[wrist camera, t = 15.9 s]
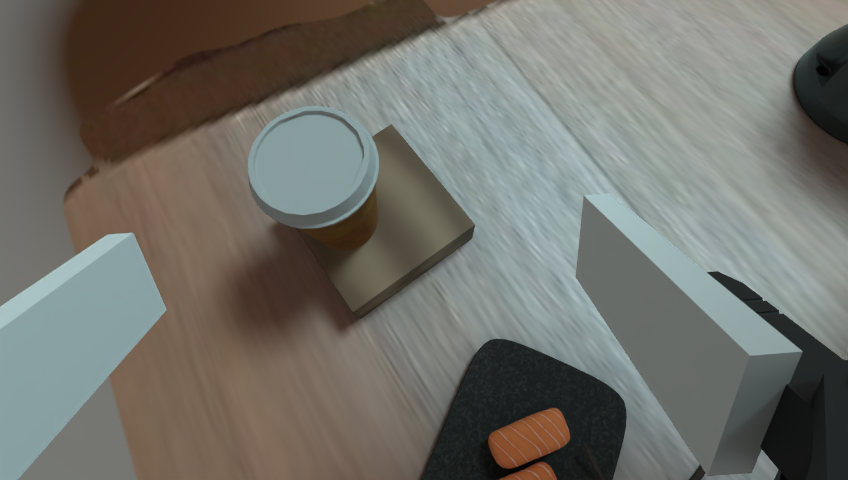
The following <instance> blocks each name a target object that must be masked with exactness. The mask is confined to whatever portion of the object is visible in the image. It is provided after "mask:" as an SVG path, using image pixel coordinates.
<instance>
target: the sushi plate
mask: <svg viewBox="0 0 848 480" xmlns="http://www.w3.org/2000/svg"><path fill="white" fill-rule="evenodd" d="M625 428H626V408H625V404H624V401H623V399H622V398H621V397H620V395H619V394H618V393H617V392H616V391H614V390H613V389H612V388H611V387H609V386H608V385H607V384H605V383H603V382H602V381H600V380H598V379H596V378H595V377H593V376H591V375H589V374H587V373H585V372H583V371H580V370H578V369H576V368H574V367H572V366H570V365H568V364H565V363H563V362H561V361H559V360H557V359H555V358H552V357H550V356H548V355H546V354H543V353H541V352H539V351H536V350H534V349H532V348H529V347H527V346H524V345H522V344H519V343H516V342H513V341H509V340H504V339H493V340H490V341H488V342H487V343H485V344H484V345H483V346H482V347H481V348H480V349H479V351H478V352H477V354H476V355H475V357H474V359H473V360H472V362H471V364H470V366H469V368H468V370H467V373H466V375H465V377H464V379H463V382H462V384H461V386H460V389H459V391H458V393H457V396H456V398H455V400H454V403H453V405H452V408H451V410H450V413H449V415H448V417H447V420H446V422H445V425H444V427H443V429H442V432H441V434H440V437H439V439H438V442H437V444H436V446H435V449H434V451H433V454H432V456H431V459H430V461H429V463H428V466H427V468H426V471H425V473H424V475H423V478H422V480H612V479H613V476H614V472H615V469H616V465H617V461H618V458H619V454H620V451H621V447H622V442H623V438H624V433H625ZM704 474H705V471H704V470H703V468H702V467H701V465H700V466H699V467H698V469H697V470H696V471H695V473H694V474H693V475H692V477H691V478H690V479H689V480H701V479H702V477H703V476H704Z"/></svg>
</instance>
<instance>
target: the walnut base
mask: <svg viewBox="0 0 848 480" xmlns="http://www.w3.org/2000/svg"><path fill="white" fill-rule="evenodd" d="M372 139H373V141H374V142H375V144H376V148H377V151H378V156H379V173H378V177H377V181H376V197H377V212H378V222H377V227H376V230H375V232H374V233H373V235H372V237H371V238H370V239H369V240H368V241H367V242H366V243H365V244H363V245H362V246H360V247H357V248H355V249H352V250H346V251H340V250H335V249H331V248H329V247H327V246H326V245H324V244H323V243H321V242H319V241H318V240H316V239H315V238H313V237H311V236H310V235H308V234H306V233H305V232H303V231H301V230H300V229H298V228H296V229H297V230H298V232H299V233H300V235H301V236H302V238H303V239H304V241H305V242H306V244H307V245H308V247H309V248H310V250H311V251H312V253H313V254H314V256H315V257H316V259H317V260H318V262H319V263H320V265H321V266H322V267H323V269H324V270H325V272H326V273H327V275H328V276H329V278H330V279H331V281H332V282H333V284H334V285H335V287H336V288H337V290H338V291H339V293H340V294H341V296H342V297H343V299H344V300H345V302H346V303H347V305H348V306H349V308H350V309H351V311H352V312H353V313H354V314H356V315H357V316H358V317H360V318H362V317H363V316H365V315H366V314H368V313H369V312H370V311H372V310H373V309H375V308H376V307H377V306H379V305H380V304H381V303H383V302H384V301H386V300H387V299H388V298H390V297H391V296H393V295H394V294H395V293H397V292H398V291H399V290H401V289H402V288H404V287H405V286H406V285H408V284H409V283H411V282H412V281H413V280H415V279H416V278H417V277H419V276H420V275H422V274H423V273H424V272H426V271H427V270H429V269H430V268H431V267H433V266H434V265H435V264H437V263H438V262H440V261H441V260H442V259H444V258H445V257H447V256H448V255H449V254H451V253H452V252H453V251H455V250H456V249H458V248H459V247H460V246H462V245H463V244H464V243H466V242H467V241H469V240H470V239H471V238H472V236H473V232H474V227H475V224H474V223H473V222H472V220H471V219H470V218H469V217H468V216H467V214H466V213H465V212H464V211H463V210H462V208H461V207H460V206H459V205H458V204H457V202H456V201H455V200H454V199H453V197H452V196H451V195H450V194H449V193H448V191H447V190H446V189H445V188H444V187H443V185H442V184H441V183H440V182H439V181H438V179H437V178H436V177H435V176H434V175H433V173H432V172H431V171H430V170H429V169H428V167H427V166H426V165H425V164H424V163H423V161H422V160H421V159H420V158H419V157H418V155H417V154H416V153H415V152H414V151H413V149H412V148H411V147H410V146H409V145H408V143H407V142H406V141H405V140H404V139H403V137H402V136H401V135H400V134H399V133H398V131H397V130H396V129H395V128H394V127H393V125H392V124H391V125H390V126H388V127H386V128H385V129H383V130H382V131H380V132H379V133H377V134H376V135H374V136H373V137H372Z"/></svg>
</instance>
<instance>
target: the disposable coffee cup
mask: <svg viewBox="0 0 848 480" xmlns="http://www.w3.org/2000/svg"><path fill="white" fill-rule="evenodd" d="M378 173H379V156H378V151H377V148H376V144H375V142H374V141H373V139H372V137H371V135H370V134H369V133H368V132H367V130H366V129H365V128H364V127H363V126H362V125H361V124H359V123H358V122H356V121H355V120H354V119H352V118H351V117H350V116H348V115H346V114H344V113H343V112H341V111H339V110H336V109H333V108H329V107H323V106H308V107H301V108H297V109H294V110H291V111H288V112H286V113H284V114H282V115H280V116H279V117H277V118H275V119H274V120H273V121H271V122H270V123H269V124H268V125H267V126H265V128H264V129H263V130H262V131H261V133H260V134H259V135H258V137H257V138H256V140H255V141H254V143H253V145H252V148H251V150H250V154H249V158H248V174H249V185H250V189H251V192H252V195H253V197H254V199H255V201H256V203H257V204H258V206H259V207H260V208H261V209H262V210H263V211H264V212H265V213H266V214H267V215H268V216H270V217H271V218H273V219H274V220H276V221H277V222H279V223H282V224H284V225H287V226H290V227H294V228H298V229H300V230H301V231H303V232H305V233H306V234H308V235H310V236H311V237H313V238H315V239H316V240H318V241H319V242H321V243H323V244H324V245H326V246H327V247H329V248H331V249H335V250H340V251H346V250H352V249H355V248H357V247H360V246H362V245H363V244H365V243H366V242H367V241H368V240H369V239H370V238H371V237H372V235H373V233H374V232H375V230H376V227H377V222H378V212H377V197H376V181H377V177H378Z"/></svg>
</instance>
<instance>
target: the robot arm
mask: <svg viewBox="0 0 848 480" xmlns="http://www.w3.org/2000/svg"><path fill="white" fill-rule="evenodd" d="M794 80H795V89H796V93H797V96H798V98H799V100H800V102H801V104H802V106H803V108H804V109H805V110H806V112H807V113H808V114H809V116H810V117H811V118H812V119H813V120H814V121H815V122H816V123H817V124H818V125H819V126H820V127H822V128H823V129H824V130H826V131H827V132H828V133H830V134H831V135H833V136H835V137H836V138H838V139H840V140H842V141H844V142H846V143H848V24H847V25H845V26H843V27H841V28H839V29H837V30H835V31H833V32H831V33H829V34H828V35H826V36H825V37H824V38H822V39H821V40H820V41H819V42H818V43H816V44H815V45H814V46H813V47H812V48H811V49H810V50H808V51H807V52H806V53H805V54H804V55H803V57H802V58H801V59H800V61H799V63H798V65H797V67H796V71H795V78H794ZM576 278H577V280H578V281H579V283H580V284H581V286H582V287H583V289H584V290H585V292H586V293H587V295H588V296H589V298H590V299H591V301H592V302H593V304H594V305H595V307H596V308H597V310H598V311H599V313H600V314H601V316H602V317H603V319H604V320H605V322H606V323H607V325H608V326H609V328H610V329H611V331H612V332H613V334H614V335H615V337H616V339H617V340H618V342H619V343H620V345H621V346H622V348H623V349H624V351H625V352H626V354H627V355H628V357H629V358H630V360H631V361H632V363H633V364H634V366H635V367H636V369H637V370H638V372H639V373H640V375H641V376H642V378H643V379H644V381H645V382H646V384H647V385H648V387H649V388H650V390H651V391H652V393H653V394H654V396H655V397H656V399H657V400H658V402H659V403H660V405H661V406H662V408H663V409H664V411H665V412H666V414H667V415H668V417H669V418H670V420H671V421H672V423H673V424H674V426H675V427H676V429H677V431H678V432H679V434H680V435H681V437H682V438H683V440H684V441H685V443H686V444H687V446H688V447H689V449H690V450H691V452H692V453H693V455H694V456H695V458H696V459H697V461H698V462H699V464H700V465H701V467H702V468H703V470H704V471H705V473H706V474H707V476H714V475H728V474H741V473H752V470H753V468H754V466H755V463H756V461H757V459H758V456H759V454H760V452H761V449H762V450H763V451H764V452H765V453H766V455H767V456H768V457H769V458H770V459H771V461H772V462H773V463H774V464H775V465H776V467H777V468H778V469H779V470H778V473H777V475H776V477H775V479H774V480H848V360H843V359H842V358H840V357H839V356H838V355H836V354H835V353H834V352H832V351H831V350H830V349H828V348H827V347H826V346H825V345H823V344H822V343H821V342H819V341H818V340H817V339H815V338H814V337H813V336H811V335H810V334H809V333H808V332H806V331H805V330H804V329H802V328H801V327H800V326H798V325H797V324H796V323H794V322H793V321H792V320H791V319H789V318H788V317H787V316H785V315H784V314H779V310H777V309H776V308H775V307H774V306H772V305H771V304H770V303H768V302H767V301H763V300H762V297H760V296H759V295H758V294H757V293H755V292H754V291H753V290H751V289H750V288H749V287H747V286H746V285H745V284H743V283H742V282H739V281H737V280H735V279H733V278H731V277H728V276H726V275H724V274H722V273H720V272H718V271H717V272H706V271H704V270H703V269H702V268H701V267H699V266H698V265H697V264H696V263H695V262H693V261H692V260H691V259H690V258H688V257H687V256H686V255H685V254H684V253H682V252H681V251H680V250H679V249H678V248H676V247H675V246H674V245H673V244H671V243H670V242H669V241H668V240H667V239H665V238H664V237H663V236H662V235H661V234H659V233H658V232H657V231H656V230H654V229H653V228H652V227H651V226H650V225H648V224H647V223H646V222H645V221H644V220H642V219H641V218H640V217H639V216H637V215H636V214H635V213H634V212H633V211H631V210H630V209H629V208H628V207H626V206H625V205H624V204H623V203H622V202H620V201H619V200H618V199H617V198H616V197H614V196H613V195H612V194H611V193H609V194H597V195H584V199H583V209H582V219H581V229H580V239H579V249H578V260H577V270H576ZM165 311H166V307H165V305H164V303H163V301H162V298H161V296H160V294H159V291H158V289H157V287H156V284H155V282H154V280H153V277H152V275H151V273H150V270H149V268H148V266H147V264H146V261H145V259H144V257H143V254H142V252H141V250H140V247H139V245H138V243H137V240H136V238H135V236H134V234H133V233H123V234H111V235H106V236H105V237H103V238H102V239H100V240H99V241H97V242H96V243H94V244H93V245H91V246H90V247H88V248H87V249H85V250H84V251H82V252H81V253H79V254H78V255H76V256H75V257H74V258H72V259H70V260H69V261H68V262H66V263H65V264H63V265H62V266H60V267H59V268H57V269H56V270H54V271H53V272H51V273H50V274H48V275H47V276H45V277H44V278H42V279H41V280H39V281H38V282H36V283H35V284H33V285H32V286H30V287H29V288H27V289H26V290H24V291H23V292H21V293H20V294H18V295H17V296H15V297H14V298H12V299H11V300H9V301H8V302H7V303H5V304H3V305H2V306H1V307H0V480H18V478H19V477H20V476H21V475H22V474H23V473H24V472H25V470H26V469H27V468H28V467H29V466H30V465H31V464H32V462H33V461H34V460H35V459H36V458H37V457H38V456H39V455H40V453H41V452H42V451H43V450H44V449H45V448H46V447H47V445H48V444H49V443H50V442H51V441H52V440H53V439H54V438H55V436H56V435H57V434H58V433H59V432H60V431H61V429H62V428H63V427H64V426H65V425H66V424H67V423H68V422H69V420H70V419H71V418H72V417H73V416H74V415H75V414H76V412H77V411H78V410H79V409H80V408H81V407H82V405H83V404H84V403H85V402H86V401H87V400H88V399H89V398H90V396H91V395H92V394H93V393H94V392H95V391H96V389H97V388H98V387H99V386H100V385H101V384H102V383H103V382H104V381H105V379H106V378H107V377H108V376H109V375H110V374H111V373H112V371H113V370H114V369H115V368H116V367H117V366H118V365H119V363H120V362H121V361H122V360H123V359H124V358H125V357H126V355H127V354H128V353H129V352H130V351H131V350H132V349H133V347H134V346H135V345H136V344H137V343H138V342H139V341H140V340H141V338H142V337H143V336H144V335H145V334H146V333H147V332H148V330H149V329H150V328H151V327H152V326H153V325H154V324H155V322H156V321H157V320H158V319H159V318H160V317H161V316H162V314H163V313H164V312H165Z"/></svg>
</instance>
